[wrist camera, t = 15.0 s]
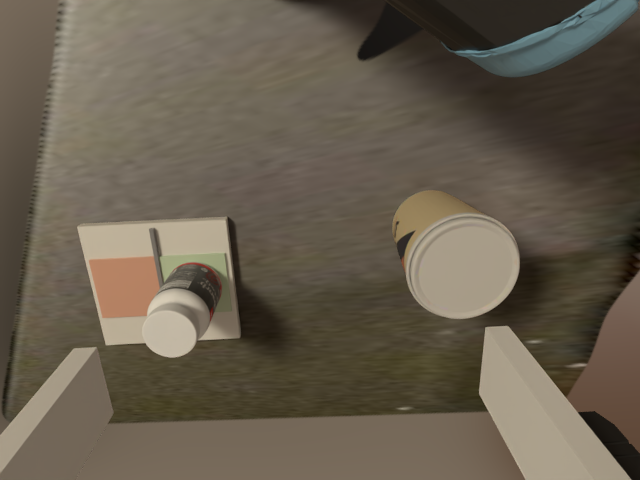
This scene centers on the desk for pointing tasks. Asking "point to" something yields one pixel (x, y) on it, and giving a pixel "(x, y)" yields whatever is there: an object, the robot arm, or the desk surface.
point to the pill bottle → (182, 309)
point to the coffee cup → (454, 255)
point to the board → (155, 270)
